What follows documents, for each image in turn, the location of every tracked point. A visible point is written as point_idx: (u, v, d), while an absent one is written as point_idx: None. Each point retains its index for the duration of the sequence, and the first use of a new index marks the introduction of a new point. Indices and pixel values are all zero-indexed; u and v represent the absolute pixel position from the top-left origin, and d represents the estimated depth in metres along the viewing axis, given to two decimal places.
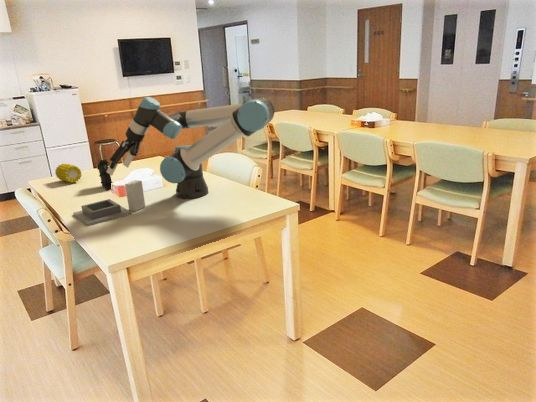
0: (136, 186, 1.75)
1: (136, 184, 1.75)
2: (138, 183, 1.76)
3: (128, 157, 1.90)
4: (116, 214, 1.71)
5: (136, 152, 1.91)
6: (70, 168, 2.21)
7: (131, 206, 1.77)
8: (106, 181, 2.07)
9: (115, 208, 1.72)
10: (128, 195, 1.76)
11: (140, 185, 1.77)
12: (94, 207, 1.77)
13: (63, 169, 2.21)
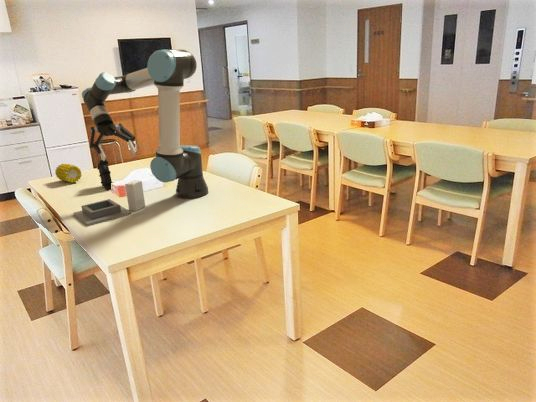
0: (136, 186, 1.75)
1: (136, 184, 1.75)
2: (138, 183, 1.76)
3: (129, 145, 1.86)
4: (116, 214, 1.71)
5: None
6: (70, 168, 2.21)
7: (131, 206, 1.77)
8: (106, 181, 2.07)
9: (115, 208, 1.72)
10: (128, 195, 1.76)
11: (140, 185, 1.77)
12: (94, 207, 1.77)
13: (63, 169, 2.21)
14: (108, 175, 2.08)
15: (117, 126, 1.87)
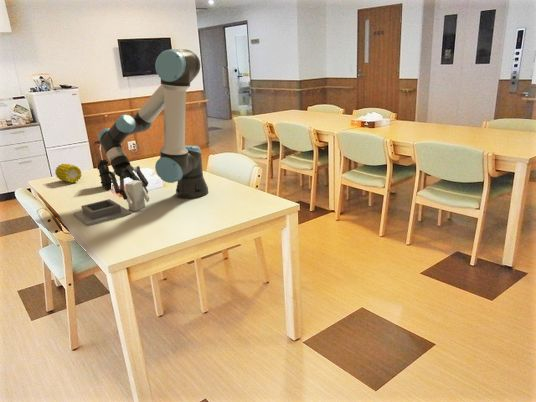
0: (136, 186, 1.75)
1: (136, 184, 1.75)
2: (138, 183, 1.76)
3: None
4: (116, 214, 1.71)
5: (145, 182, 1.81)
6: (70, 168, 2.21)
7: (131, 206, 1.77)
8: (106, 181, 2.07)
9: (115, 208, 1.72)
10: None
11: (140, 185, 1.77)
12: (94, 207, 1.77)
13: (63, 169, 2.21)
14: (108, 175, 2.08)
15: (134, 168, 1.84)
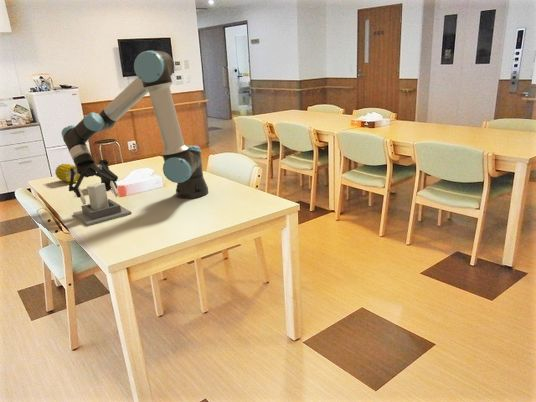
0: (99, 189, 1.70)
1: (98, 187, 1.69)
2: (101, 186, 1.70)
3: (111, 186, 1.76)
4: (116, 214, 1.71)
5: (114, 177, 1.78)
6: (70, 168, 2.21)
7: (93, 209, 1.72)
8: (106, 181, 2.07)
9: (115, 208, 1.72)
10: (90, 198, 1.70)
11: (103, 188, 1.72)
12: None
13: (63, 169, 2.21)
14: None
15: (98, 166, 1.78)
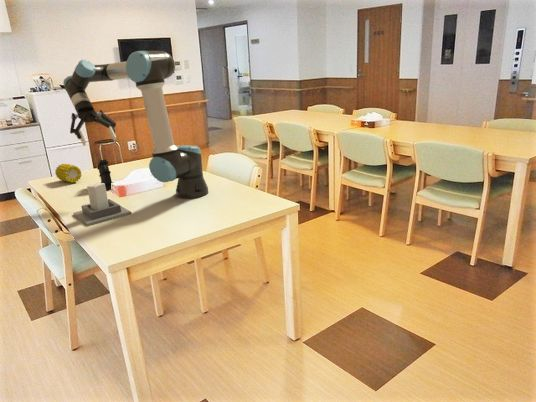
0: (99, 189, 1.70)
1: (98, 187, 1.69)
2: (101, 186, 1.70)
3: (110, 131, 1.90)
4: (116, 214, 1.71)
5: (113, 123, 1.91)
6: (70, 168, 2.21)
7: (93, 209, 1.72)
8: (106, 181, 2.07)
9: (115, 208, 1.72)
10: (90, 198, 1.70)
11: (103, 188, 1.72)
12: None
13: (63, 169, 2.21)
14: (108, 175, 2.08)
15: (98, 113, 1.92)
